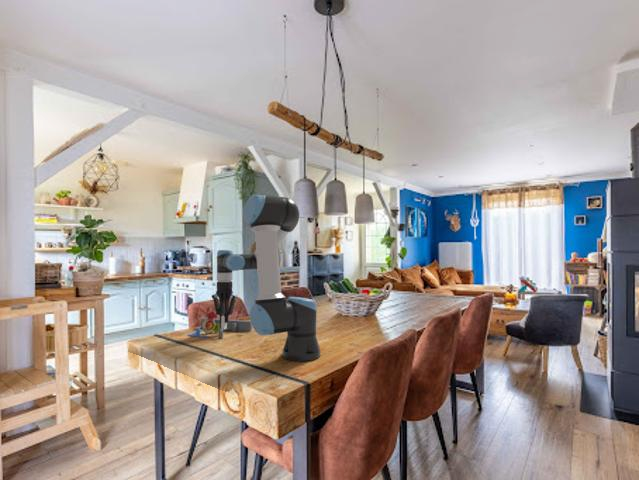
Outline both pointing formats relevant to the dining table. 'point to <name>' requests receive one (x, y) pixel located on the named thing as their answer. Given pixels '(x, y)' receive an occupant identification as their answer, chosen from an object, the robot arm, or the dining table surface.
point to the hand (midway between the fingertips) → (224, 329)
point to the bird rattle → (208, 325)
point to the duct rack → (231, 325)
